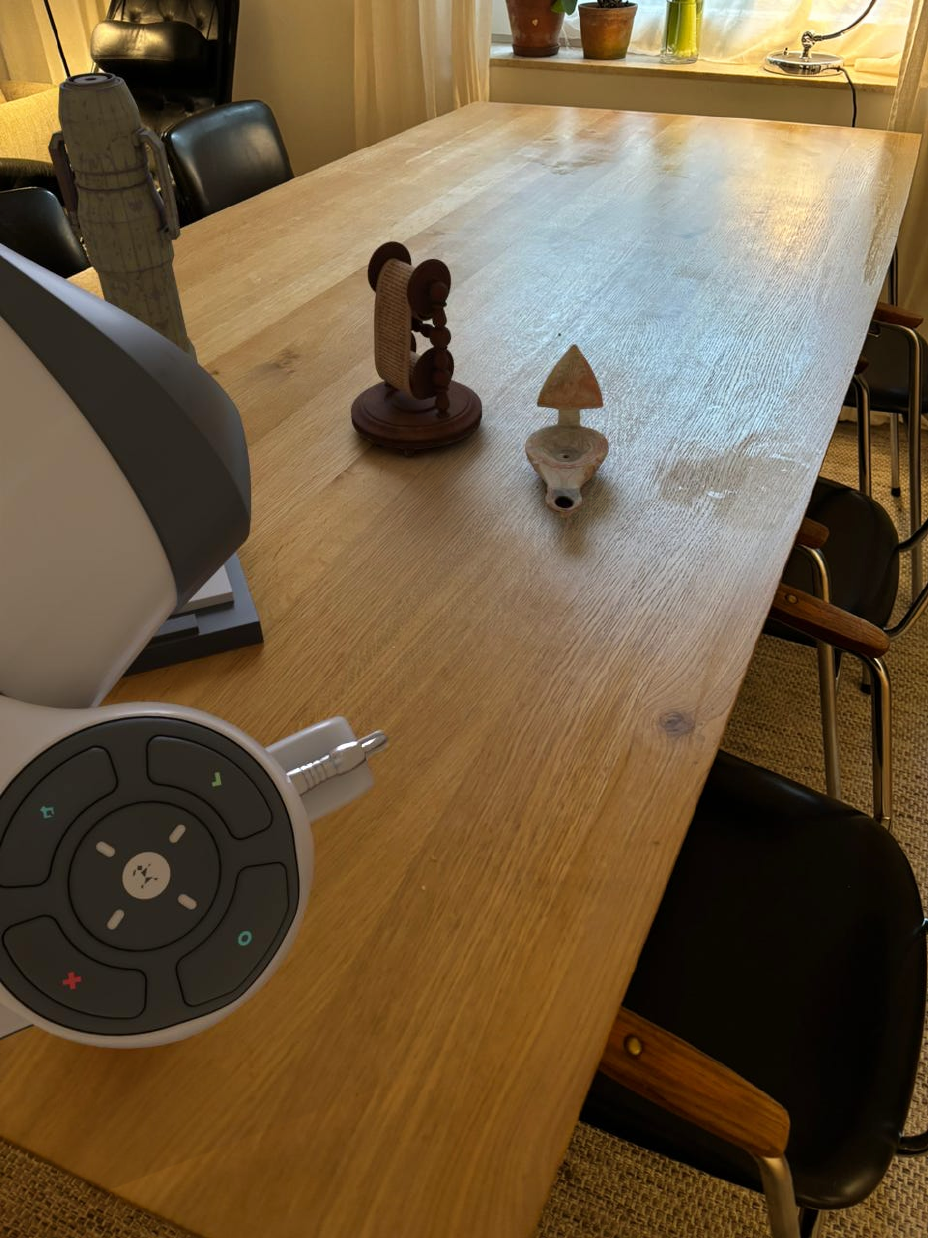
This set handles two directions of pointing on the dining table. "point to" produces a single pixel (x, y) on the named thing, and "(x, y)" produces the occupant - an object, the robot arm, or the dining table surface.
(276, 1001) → the dining table surface
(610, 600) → the dining table surface
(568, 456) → the oil lamp
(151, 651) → the scale
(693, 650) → the dining table surface
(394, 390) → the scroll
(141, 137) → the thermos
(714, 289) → the dining table surface
